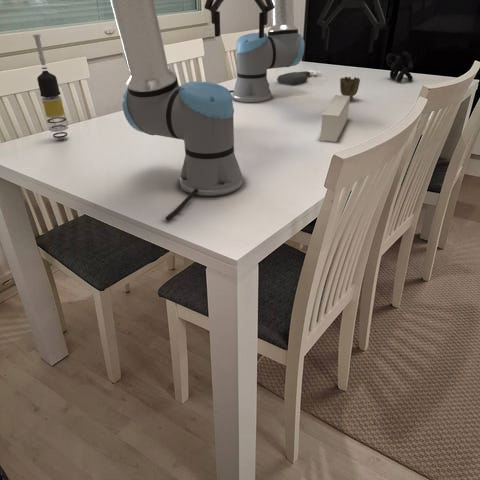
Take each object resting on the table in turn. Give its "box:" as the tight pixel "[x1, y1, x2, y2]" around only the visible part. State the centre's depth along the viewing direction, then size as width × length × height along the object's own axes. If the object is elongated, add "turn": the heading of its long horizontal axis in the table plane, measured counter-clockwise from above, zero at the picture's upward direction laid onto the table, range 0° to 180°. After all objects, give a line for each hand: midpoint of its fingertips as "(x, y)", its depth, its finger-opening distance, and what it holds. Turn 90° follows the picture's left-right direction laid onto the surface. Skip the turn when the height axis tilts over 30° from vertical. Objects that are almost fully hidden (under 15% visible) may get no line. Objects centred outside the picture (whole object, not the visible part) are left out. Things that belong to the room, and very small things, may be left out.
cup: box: [339, 76, 361, 101], centre depth 171 cm, size 8×7×8 cm
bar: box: [319, 94, 351, 143], centre depth 142 cm, size 23×5×8 cm, turn 160°
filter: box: [32, 33, 69, 140], centre depth 132 cm, size 6×6×30 cm
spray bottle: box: [276, 69, 322, 86], centre depth 204 cm, size 3×11×25 cm
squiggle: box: [385, 51, 414, 83], centre depth 198 cm, size 11×10×15 cm
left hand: (239, 37), depth 131 cm, fingers open, 13 cm apart
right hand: (347, 51), depth 139 cm, fingers open, 13 cm apart
